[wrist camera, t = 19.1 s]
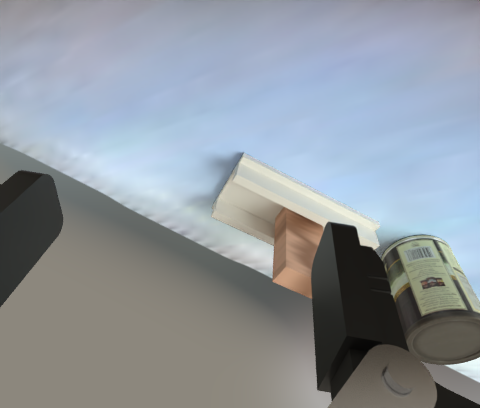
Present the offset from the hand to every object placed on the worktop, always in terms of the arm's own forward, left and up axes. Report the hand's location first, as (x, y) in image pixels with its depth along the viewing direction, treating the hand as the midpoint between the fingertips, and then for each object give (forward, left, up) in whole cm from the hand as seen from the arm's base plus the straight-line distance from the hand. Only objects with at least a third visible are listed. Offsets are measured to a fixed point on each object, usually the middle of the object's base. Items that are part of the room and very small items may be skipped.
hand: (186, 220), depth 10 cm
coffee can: (-29, +29, -33) cm, 52 cm away
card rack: (-9, +24, -33) cm, 41 cm away
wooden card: (-10, +24, -32) cm, 41 cm away
